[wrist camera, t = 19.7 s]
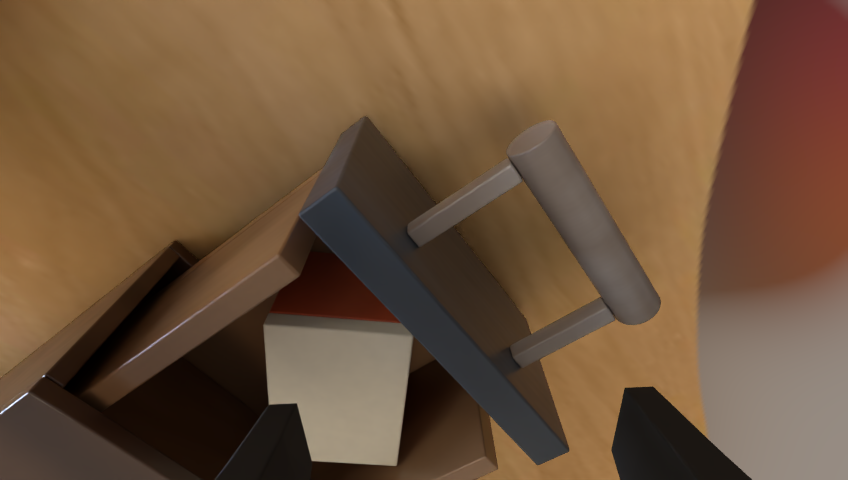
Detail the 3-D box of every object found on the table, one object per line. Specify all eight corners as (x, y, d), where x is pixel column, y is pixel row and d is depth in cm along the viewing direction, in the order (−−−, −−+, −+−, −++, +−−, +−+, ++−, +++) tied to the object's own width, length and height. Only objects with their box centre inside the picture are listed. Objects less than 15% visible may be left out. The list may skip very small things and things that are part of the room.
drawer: (480, 25, 15) (523, 48, 9) (626, 264, 19) (719, 386, 13) (122, 302, 19) (-4, 435, 14) (302, 442, 24) (265, 588, 18)
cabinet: (176, 239, 19) (27, 391, 12) (365, 406, 24) (343, 588, 16) (-15, 389, 23) (-214, 574, 16) (182, 508, 28) (98, 691, 20)
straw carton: (297, 249, 17) (262, 324, 13) (414, 259, 17) (413, 336, 14) (299, 368, 20) (271, 459, 16) (401, 376, 20) (397, 466, 16)
